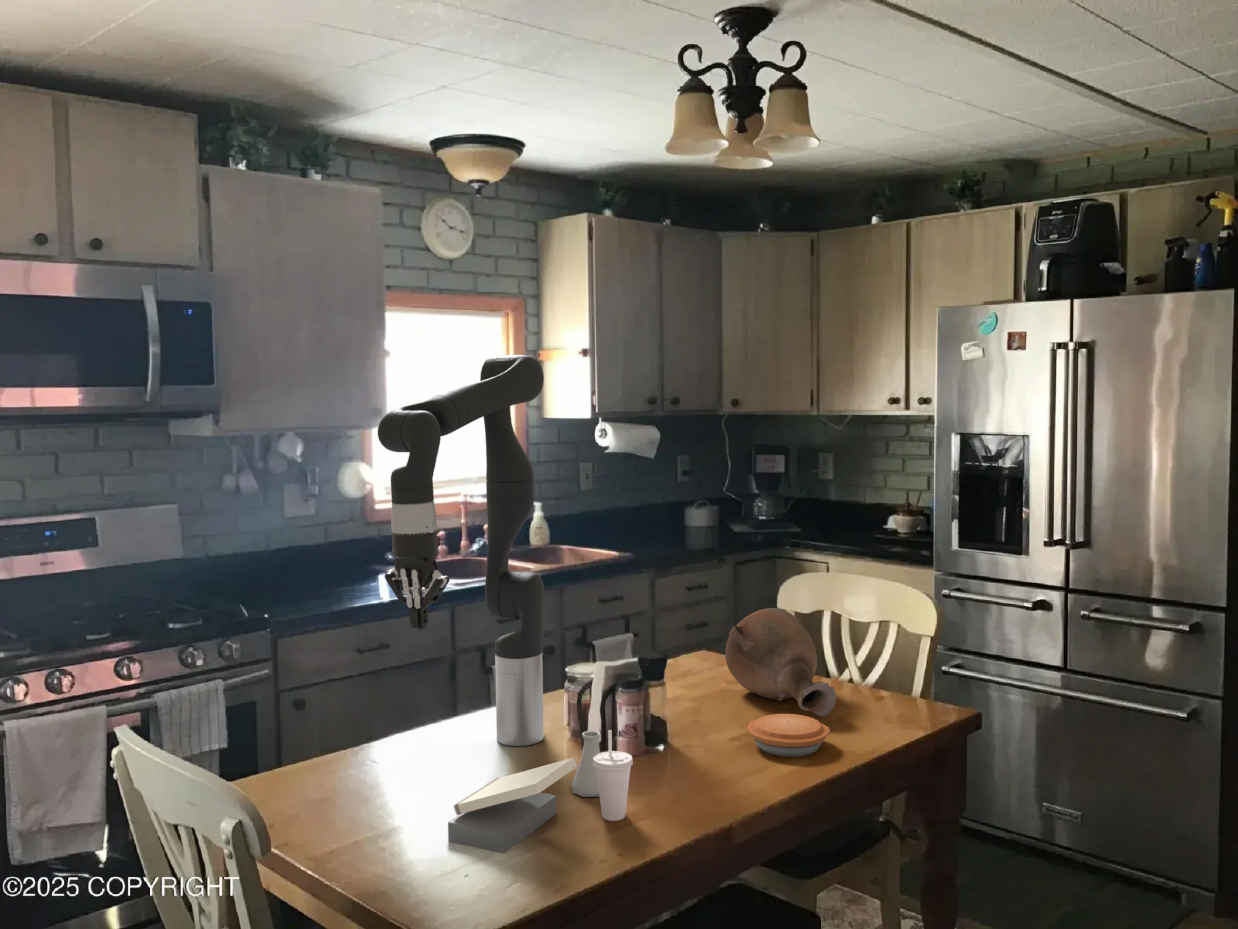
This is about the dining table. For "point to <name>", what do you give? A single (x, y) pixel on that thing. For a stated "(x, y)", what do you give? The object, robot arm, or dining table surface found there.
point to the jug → (777, 660)
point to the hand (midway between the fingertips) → (419, 628)
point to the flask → (587, 767)
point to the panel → (515, 786)
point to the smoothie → (613, 781)
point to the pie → (788, 734)
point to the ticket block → (502, 822)
